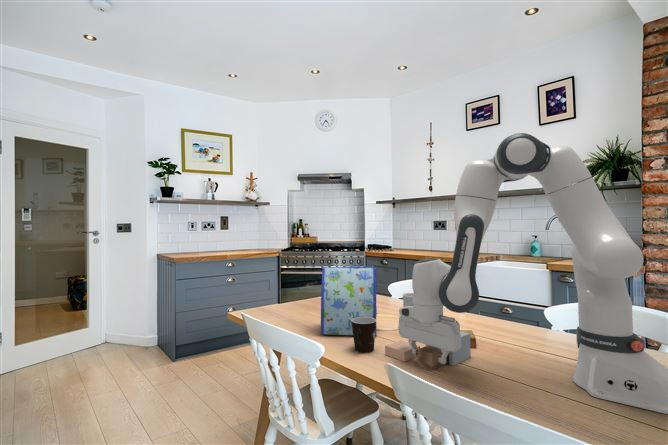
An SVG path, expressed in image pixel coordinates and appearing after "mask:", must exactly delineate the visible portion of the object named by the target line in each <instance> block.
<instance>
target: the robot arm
mask: <svg viewBox="0 0 668 445" xmlns="http://www.w3.org/2000/svg"><path fill="white" fill-rule="evenodd" d="M528 176H530V177H532V178H535V179H536V180H537V182H539V184H540V185H541V188H542V189H543V192H544V194H545V196H546V198H547V199H548V202H549V204H550V206H551V207H552V208H551V209H552V210H553V212H554V214H555V216H556V218H557V221H558V222H559V224H560V225H561V226H562V228H563V229H564V231H565V232H566V234H567V235H568V236H569V238H570V240H571V241H572V243H573V244H572V245H571V249H570V250H571V251H570V253H571V258H572V259H571V260H572V266H573V268H572V269H573V275H574V281H575V288H576V291H577V292H576V294H577V301H578V302H577V308H578V311H577V312H578V326H577V327H576V333H575V334H576V344H577V346H576V347H577V348H578V349H577V350H578V351H577V361H576V366H575V370H574V373H573V376H572V381H573V382H574V383H575V384H576V385H577V386H579V387H580V388H582V389H584V390H585V391H586V392H588V394H589V395H590V396H592V397H594V398H596V399H597V398H598V399H602V400H607V401H610V402H614V403H619V404H623V405H627V406H632V407H635V408H639V409H644V410H648V411H653V412H657V413H660V414H665V415H668V367H666V366H665V365H664V364H662V363H661V362H659V361H658V360H657V359H655V358H654V357H653V356H651V355H650V354H649V353H647V352H646V351H645V338H644V336H641V337H640V336H639V335H637V334H635V333H634V328H633V327H634V324H633V323H634V322H633V320H634V318H633V301H632V299H631V297H630V294H629V291H628V286H627V284H626V280H625V279H627V278H630V277H633V276H634V275H636V274H637V273H638V272H639V271H640V270H641V269H642V268H643V264H644V253H643V252H642V250H641V247H639V246H638V244H637V243H636V242H635V241H633V239H632V238H631V237H630V235H629V234H628V232H627V231H626V229H625V228H624V226H623V225H622V223H621V222H620V221H619V220H618V218H617V217H616V215H615V214H614V213H613V212H612V210H611V209H610V207H609V206H608V204H607V203H606V201H605V199H604V197H603V195H602V193H601V191H600V190H599V187H598V186H597V184H596V182H595V179H594V178H593V176H592V173H591V172H590V170H589V168H588V167H587V165H586V164H585V162H584V161H583V160H582V158H581V157H580V156H579V155H578V153H577V152H576V151H575V150H574V149H573V148H572V147H570V146H569V145H567V146H566V145H556V146H553V147H550V145H548V144H546V142H545V143H544V142H543V141H541V140H540V139H538V138H537V137H535V136H534V135H532V134H529V133H525V132H517V133H514V134H511V135H508V136H507V137H506V138H504V139H503V140H502V141H501V142H500V143H499V145H498V147H497V148H496V151H495V153H494V154H493V157H491V158H488V159H482V158H481V159H480V158H479V159H475V160H472V161H470V162H468V163H467V164H466V165H465V166H464V168H463V172H462V173H461V176H460V179H459V183H458V185H457V189H456V192H455V193H456V195H455V197H454V198H455V199H454V208H453V212H454V213H453V215H454V216H453V217H454V226H455V233H456V234H455V235H456V236H455V245H454V251H453V255H452V260H451V265H449V264H447V263H446V262H444V261H443V260H441V259H440V258H437V257H428V258H423V259H420V260H418V261H416V263H415V264H414V265H413V269H412V277H411V279H412V284H411V285H412V286H411V287H412V290H413V292H412V293H414V298H413V305H409V306H406V307H400V308H399V318H398V334H399V336H400V337H401V338H403V339H407V340H408V342H409V344H410V346H411V348H412V354H414V355H418V349H419V348H417V346H416V345H417V344H416V343H421V344H424V345H426V344H427V345H430V346H433V347H437V348H440V349H441V352H442V353H443V354H442V356H441V357H438V360H439V361H438V362H439V363H441V364H444V365H446V357H447V356H448V354H449V352H456V351H458V350H460V349H461V347H462V344H461V335H460V330H461V325H460V323H459V321H458V320H457V319H456V318H455V317H450V316H447V315H444V308H446V309H447V310H449V311H450V312H454V313H458V314H462V313H463V314H464V313H468V312H470V311H471V310H473V309H475V307H476V306H477V305H478V302H479V299H480V292H479V286H478V284H477V280H476V279H477V278H476V275H477V274H476V273H477V267H478V261H479V256H480V251H481V246H482V241H483V239H484V236H485V234H486V233H487V230H488V228H489V226H490V224H491V221H492V219H493V216H494V213H495V210H496V206H497V200H498V196H499V191H500V188H501V186H502V184H503V183H508V182H516V181H520V180H523V179H524V178H527V177H528Z"/></svg>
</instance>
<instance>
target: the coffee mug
mask: <svg viewBox="0 0 668 445" xmlns="http://www.w3.org/2000/svg"><path fill="white" fill-rule="evenodd" d="M351 323H352V331H353V335H352V337H353V343H354V344H353V345H354V350H355V352H357V353H361V354H370V353H372V352H374V350H375V342H376V341H375V340H376V336H375V331H376V330H377V318H376V319H374V318H370V317H357V318H353V319H352V320H351ZM376 332H377V331H376Z"/></svg>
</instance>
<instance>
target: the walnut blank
mask: <svg viewBox="0 0 668 445" xmlns="http://www.w3.org/2000/svg"><path fill="white" fill-rule="evenodd" d="M442 354H443V353H442V352H441V349H440V348H437V347H433V346H430V345H428V346H426V345H425V346H422V347H420V349H418V357H417V366H419V367H423V368H425V369H428V370H431V371H433V370H436V369H437V368H439V367H442V366H444V365H446V364H449V354H448V356H447V357H446V364H441V363H439V362H438V361H439V360H438V357H441V356H442Z"/></svg>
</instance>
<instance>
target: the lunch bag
mask: <svg viewBox="0 0 668 445" xmlns="http://www.w3.org/2000/svg"><path fill="white" fill-rule="evenodd" d="M377 271H378V269H377V267H375V266H373V267H372V266H369V265H367V266H366V265H365V266H323V267H322V273H321V286H320V288H321V289H320V290H321V291H320V292H321V293H320V295H321V296H320V335H329V336H331V335H332V336H333V335H334V336H353V331H352V323H351V320H352V319H353V318H357V317H370V318H374V319H376V320H377V317H378V316H377V315H378V307H377V287H378V286H377ZM375 337H377V329H376V331H375Z"/></svg>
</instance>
